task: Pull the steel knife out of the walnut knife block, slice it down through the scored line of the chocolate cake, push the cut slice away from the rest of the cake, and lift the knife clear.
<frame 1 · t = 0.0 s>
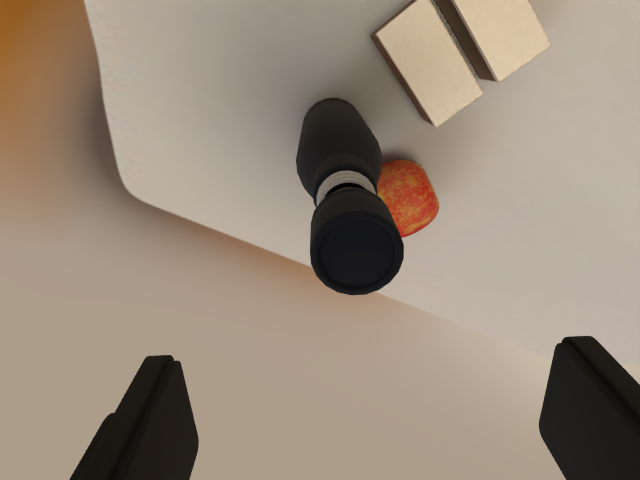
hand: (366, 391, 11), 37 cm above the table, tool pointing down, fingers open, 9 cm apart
cake: (418, 63, 42), on the table
apple: (387, 188, 47), on the table
cake slice: (477, 17, 40), on the table
pepper grinder: (332, 129, 45), on the table
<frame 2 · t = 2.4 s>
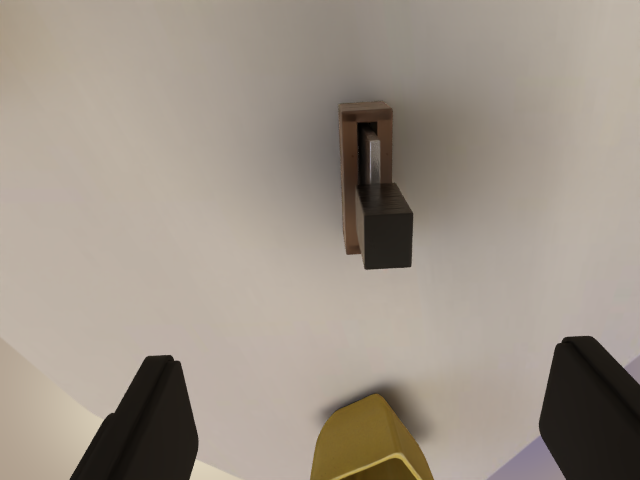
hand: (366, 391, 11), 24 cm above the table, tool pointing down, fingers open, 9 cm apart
knife block: (362, 171, 33), on the table
flower pot: (366, 415, 44), on the table
knife: (372, 199, 27), in the knife block
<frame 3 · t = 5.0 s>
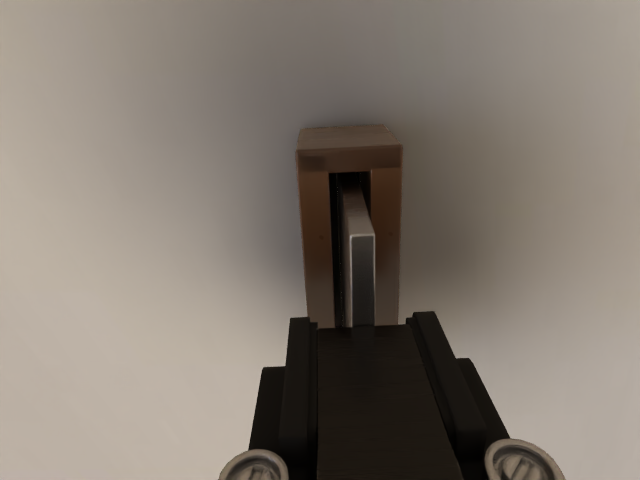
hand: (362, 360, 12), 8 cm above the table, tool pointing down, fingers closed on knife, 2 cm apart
knife block: (345, 245, 19), on the table
knife: (358, 336, 13), in the knife block, touching gripper
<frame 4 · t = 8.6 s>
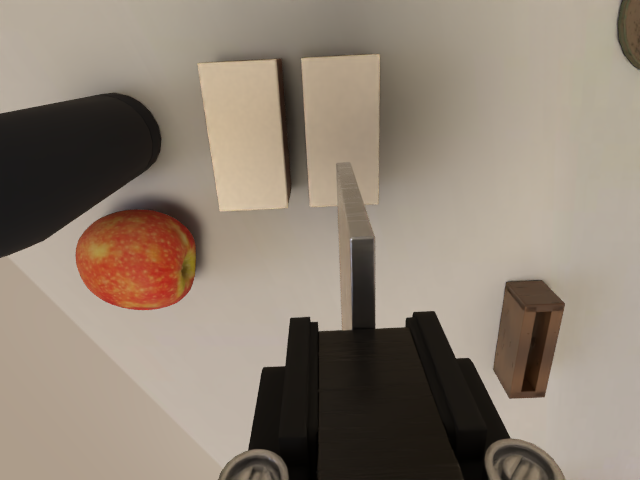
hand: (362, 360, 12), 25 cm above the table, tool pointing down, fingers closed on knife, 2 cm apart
cake: (255, 128, 33), on the table
apple: (157, 237, 37), on the table
knife block: (516, 327, 41), on the table
cake slice: (338, 124, 33), on the table
pepper grinder: (121, 135, 34), on the table
knife: (359, 341, 13), point 24 cm above the table, touching gripper
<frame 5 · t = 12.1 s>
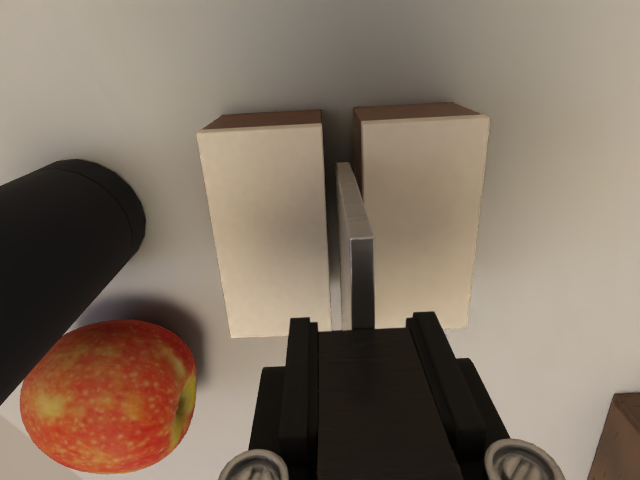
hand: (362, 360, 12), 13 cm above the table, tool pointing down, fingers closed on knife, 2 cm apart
cake: (280, 206, 23), on the table
apple: (143, 343, 27), on the table
knife block: (620, 445, 31), on the table
cake slice: (400, 199, 23), on the table
pepper grinder: (89, 214, 24), on the table
knife: (359, 341, 13), point 12 cm above the table, touching gripper
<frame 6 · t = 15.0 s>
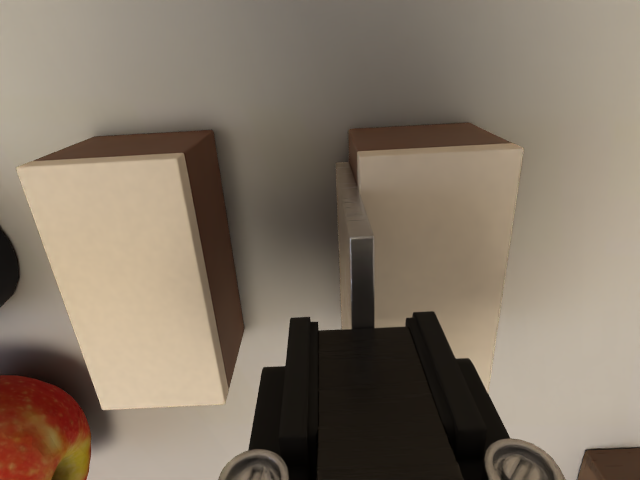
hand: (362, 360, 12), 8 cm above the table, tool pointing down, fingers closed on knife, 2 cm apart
cake: (176, 242, 19), on the table
apple: (36, 397, 24), on the table
cake slice: (405, 236, 19), on the table, touching knife
knife: (358, 340, 13), point 7 cm above the table, touching cake slice, gripper
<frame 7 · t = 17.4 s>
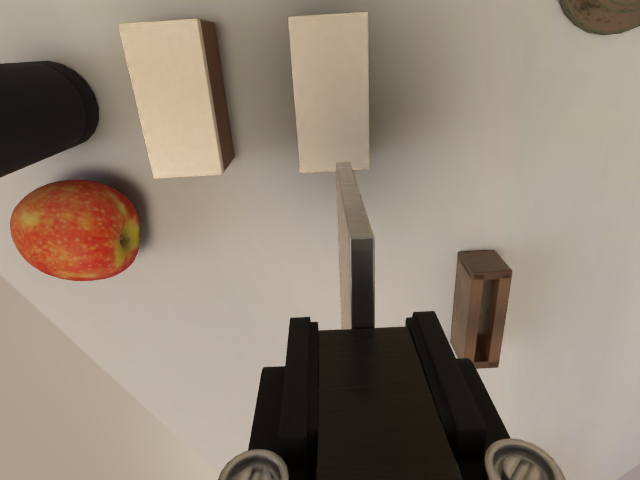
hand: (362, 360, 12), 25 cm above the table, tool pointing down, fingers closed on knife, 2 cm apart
cake: (193, 96, 33), on the table
apple: (102, 211, 37), on the table
knife block: (471, 298, 41), on the table
cake slice: (329, 91, 33), on the table
pepper grinder: (58, 105, 33), on the table
knife: (358, 340, 13), point 24 cm above the table, touching gripper
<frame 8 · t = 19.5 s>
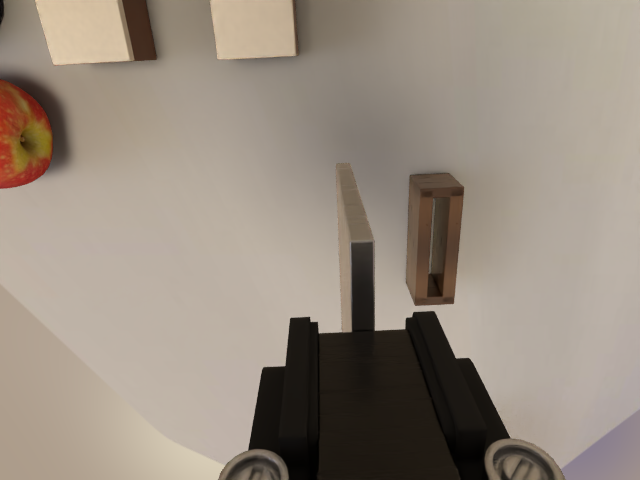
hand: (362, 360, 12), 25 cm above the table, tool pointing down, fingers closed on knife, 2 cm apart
apple: (16, 122, 34), on the table
knife block: (426, 230, 37), on the table
knife: (358, 342, 13), point 24 cm above the table, touching gripper
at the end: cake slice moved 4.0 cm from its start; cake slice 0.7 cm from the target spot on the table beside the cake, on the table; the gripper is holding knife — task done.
